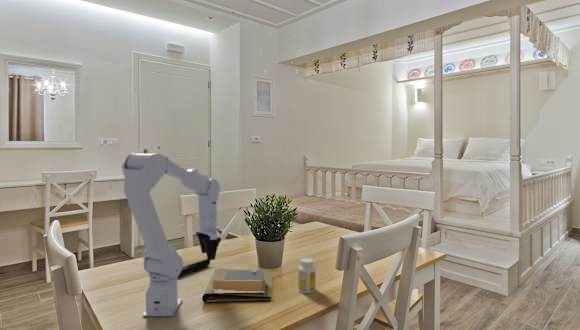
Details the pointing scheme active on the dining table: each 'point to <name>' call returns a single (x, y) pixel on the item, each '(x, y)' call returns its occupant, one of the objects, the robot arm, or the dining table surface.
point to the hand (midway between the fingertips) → (208, 255)
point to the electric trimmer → (194, 267)
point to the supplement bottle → (306, 276)
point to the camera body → (245, 275)
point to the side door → (239, 285)
